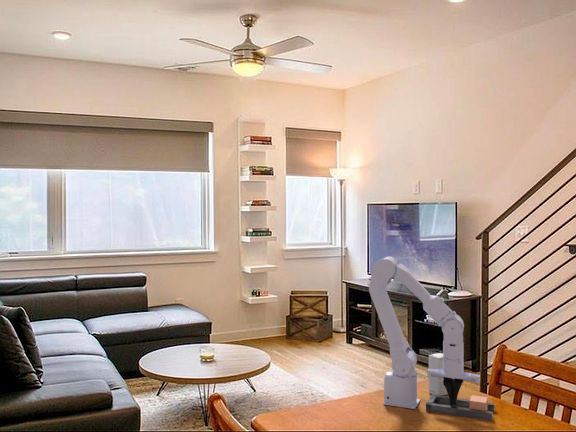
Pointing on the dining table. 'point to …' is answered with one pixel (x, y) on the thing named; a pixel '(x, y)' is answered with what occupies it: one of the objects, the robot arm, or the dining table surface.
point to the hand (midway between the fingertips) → (453, 404)
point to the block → (478, 403)
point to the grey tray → (458, 408)
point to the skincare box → (436, 383)
